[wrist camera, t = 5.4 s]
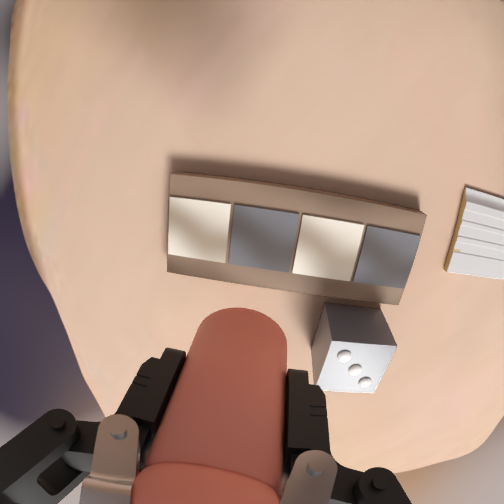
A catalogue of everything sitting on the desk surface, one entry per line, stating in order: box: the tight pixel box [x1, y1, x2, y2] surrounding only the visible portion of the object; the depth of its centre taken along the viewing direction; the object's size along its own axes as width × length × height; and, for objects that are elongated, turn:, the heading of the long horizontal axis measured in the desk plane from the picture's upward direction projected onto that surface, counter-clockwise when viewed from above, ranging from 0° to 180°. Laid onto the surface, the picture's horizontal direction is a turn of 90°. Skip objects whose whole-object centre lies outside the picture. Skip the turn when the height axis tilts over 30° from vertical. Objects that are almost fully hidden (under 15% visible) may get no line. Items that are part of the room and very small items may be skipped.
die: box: [311, 302, 397, 393], centre depth 27 cm, size 6×6×6 cm
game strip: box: [167, 172, 427, 305], centre depth 26 cm, size 9×22×2 cm, turn 83°
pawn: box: [131, 308, 287, 504], centre depth 8 cm, size 5×5×11 cm
